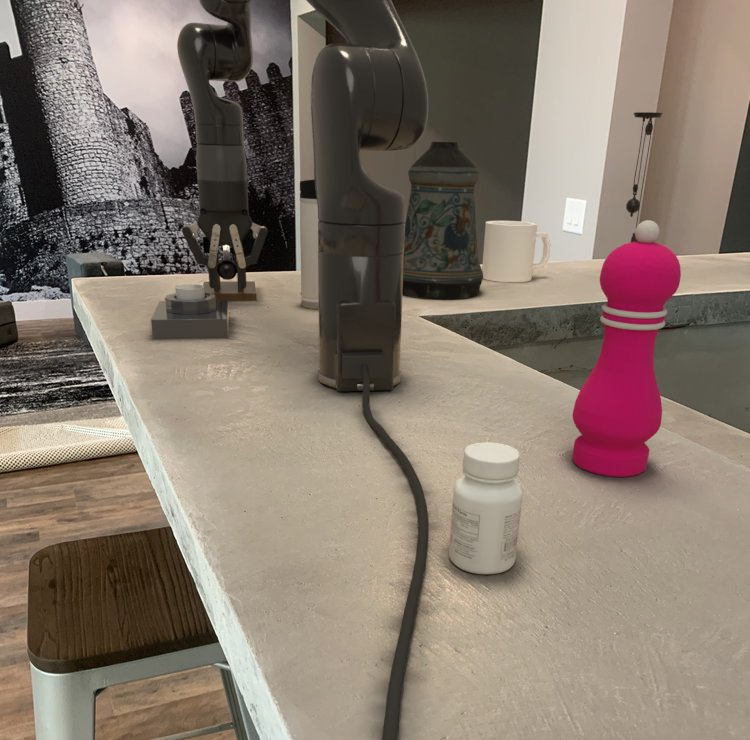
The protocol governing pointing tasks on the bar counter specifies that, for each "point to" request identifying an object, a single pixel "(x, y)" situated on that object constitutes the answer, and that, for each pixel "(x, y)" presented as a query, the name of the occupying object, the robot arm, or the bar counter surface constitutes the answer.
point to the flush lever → (226, 265)
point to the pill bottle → (486, 509)
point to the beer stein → (441, 226)
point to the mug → (512, 251)
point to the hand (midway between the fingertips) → (228, 290)
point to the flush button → (190, 292)
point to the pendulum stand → (232, 289)
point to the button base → (190, 318)
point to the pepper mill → (626, 359)
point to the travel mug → (309, 245)
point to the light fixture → (633, 203)
